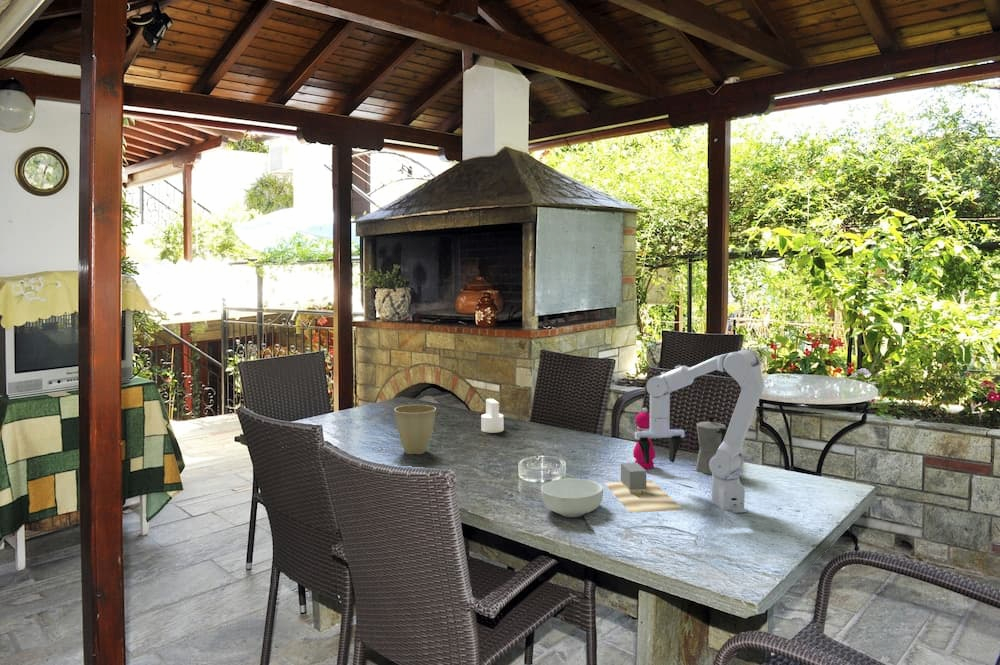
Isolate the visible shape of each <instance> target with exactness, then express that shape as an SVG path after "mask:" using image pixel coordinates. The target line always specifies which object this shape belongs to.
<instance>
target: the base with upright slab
mask: <svg viewBox="0 0 1000 665" xmlns="http://www.w3.org/2000/svg"><path fill="white" fill-rule="evenodd" d="M480 419H481V421H480V422H481V424H480V425H481V426H480V427H481V428H480V429H481V432H483V433H490V434H491V433H493V434H494V433H496V434H497V433H501V432H503V431H504V429H505V427H504V421H505V420H504V414H502V413H500V402H499V401H497V400H496V399H494V398H486V399H485V413H484V414H481V416H480Z"/></svg>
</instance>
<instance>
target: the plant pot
mask: <svg viewBox="0 0 1000 665" xmlns="http://www.w3.org/2000/svg"><path fill="white" fill-rule="evenodd" d="M436 410H437V408H436V407H435V406H433V405H428V404H405V405H400V406H397V407H395V408H394V412H393V413H394V418H395V422H396V423H395V424H396V427H397V432H398V435H399V439H400V442H401V444H402V448H403V451H404V452H405V454H408V455H412V454H417V455H422V454H425V453H426V452H427V449H428V447H429V443H430V440H431V438H432V435H433V434H432V433H433V429H434V426H435V420H436Z"/></svg>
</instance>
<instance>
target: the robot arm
mask: <svg viewBox="0 0 1000 665" xmlns="http://www.w3.org/2000/svg"><path fill="white" fill-rule="evenodd" d="M759 358H760V357H758V356H757V354H756V353H755V352H754V351H753V350H751V349H749V348H744V349H741V350H738V351H732V352H728V353H724V354H723V353H722V354H720V355H715V356H713V357H712V358H709V359H707V360H705V361H702V362H700V363H698V364H696V365H693V366H690V367H689V366H687V365H681V364H678V365H676V366H674V369H672V370H671V369H670V370H669V371H662V372H660V374H659V375H657V376H652V377H651V378H649V379H648V381H647V382H646V386H645V387H646V391H647V393H648V394H649V413H650V430H645V431H634V439H635V440H636V442H637V441H638V443H639V445H640V447H641V449H642V452H643V456H644V461H645V463H646V464H649V449H650V442H649V440H648V438H651V439H663V438H665V439H666V438H667V439H668V445H669V446H668V447H669V448H668V449H669V455H668V456H669V457H668V459H669V461H670V462H671V463H675V460H676V455H677V452H678V450H679V448H680V447H681V445H682V442H683V438H685V430H683V429H674V428H673V429H672V428H671V429H670V420H671V419H670V414H671V412H670V411H671V410H670V409H671V407H670V406H671V405H670V403H671V401H670V399H671V398H670V396H671V393H672V392H675V391H677V390H680V389H683V388H686V387H687V386H690V385H692V384H693V383H694V380H695V379H696V378H697V377H701V376H703V375H707V374H708V373H712V372H714V371H719V372H722V373H724V372H726V373H727V374H728V375H729V376H730V377H732V378H733V379H734V380H735V381H736V382H737V384H738V386H739V387H740V389H741V390H740V393H739V396H738V399H737V401H736V404H735V407H734V410H733V413H732V416H731V419H730V421H729V424H728V427H727V430H726V435H725V437H724V440H723V442H722V444H721V445H720V446H719V448H718V450H717V452H716V454H715V455H714V456H713V457H712V458H711V459H710V461H709V468H710V470H711V472H712V474H711V503H712V504H713V505H716V506H717V507H719V508H720V509H721V510H724V511H727V510H729V511H730V510H731V511H732V512H733V513H735V514H736V513H737V514H738V513H747V512H748V510H747V509H746V508H745V496H746V495H745V491H746V490H745V488H744V486H743V484H742V483H741V481H740V470H739V469H740V468H741V467H742V466H743V463H744V458H743V453H744V451H745V450H744V449H745V448H744V446H743V445H744V442H745V440H746V437H747V434H748V432H749V428H750V426H751V423H752V421H753V419H754V418H753V417H754V415H755V412H756V409H757V407H758V404H759V401H760V398H761V395H762V393H763V390H764V379H763V374H762V370H761V368H762V367H761V365H762V361H761V360H760V359H759Z"/></svg>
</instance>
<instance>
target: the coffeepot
mask: <svg viewBox="0 0 1000 665" xmlns="http://www.w3.org/2000/svg"><path fill="white" fill-rule="evenodd" d="M696 431H697V439H698V445H699V450H698V454H697V460H696V463H695V464H696V465H695V470H696V471H697V472H698V473H700V472H701V474H704V473H705V475H712V472H711V470H710V468H709V461H710V459H711V458H712V457H713V456H714V455H715V454H716V452H717V450H718V448H719V446H720V445H721V444H722V442H723V440H724V437H725V435H726V432H727V430H726V425H725V424H723V423H719V422H717V421H714V416H712V415H709V416H708V421H698V423H696Z"/></svg>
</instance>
